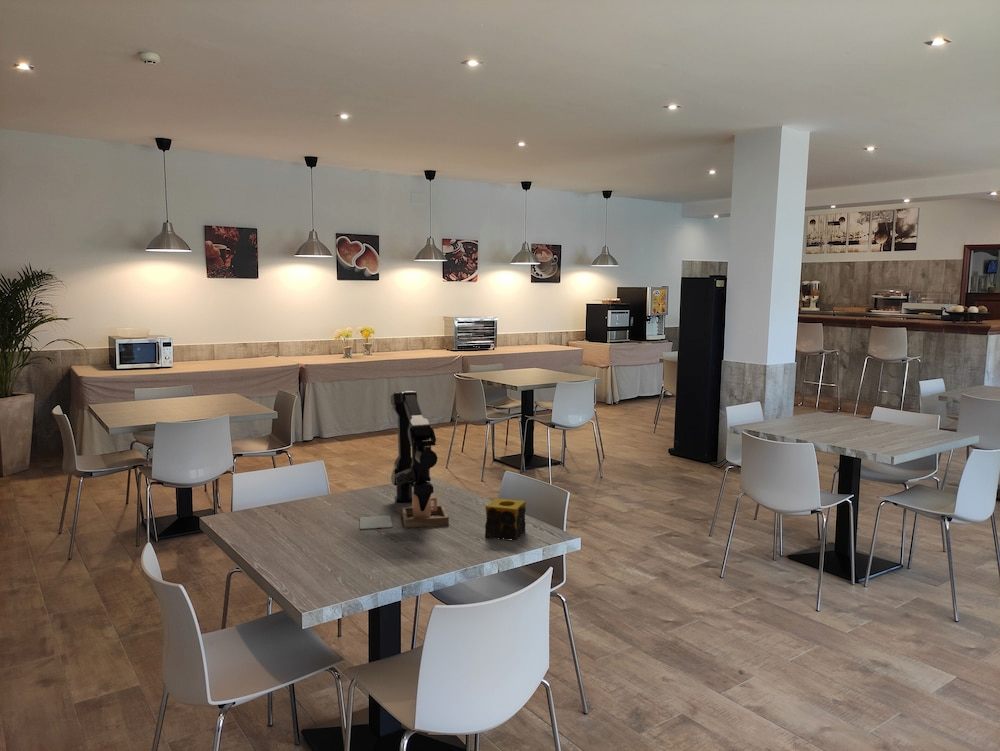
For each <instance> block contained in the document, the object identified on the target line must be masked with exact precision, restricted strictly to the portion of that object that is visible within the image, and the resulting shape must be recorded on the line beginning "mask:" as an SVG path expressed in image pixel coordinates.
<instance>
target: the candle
mask: <svg viewBox="0 0 1000 751" xmlns="http://www.w3.org/2000/svg"><path fill="white" fill-rule="evenodd" d="M526 506H527V505H526V500H520V499H519V500H518V499H506V498H494V499H493V500H492V501H491V502H490V503H488V504H487V505H486V506H485V515H486V522H485V524H484V527H485V531H484V537H485V538H486V539H487V538H488V539H493V538H499V539H498V540H502V539H503V538H504V539H512V540H516V541H517V540H518V539H519V538H521V537H522V535H523V534H524V533H525V532H526V524H527V523H526V510H527V509H526ZM521 534H522V535H521ZM518 537H519V538H518ZM517 538H518V539H517Z"/></svg>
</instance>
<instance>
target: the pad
mask: <svg viewBox="0 0 1000 751" xmlns="http://www.w3.org/2000/svg"><path fill="white" fill-rule="evenodd" d="M377 528H382V529H392V528H393V524H392V518H391V515H374V516H364V517H363V516H362V517H359V530H360V529H361V530H360V531H363V529H367V530H378V529H377Z"/></svg>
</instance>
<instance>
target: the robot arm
mask: <svg viewBox="0 0 1000 751" xmlns="http://www.w3.org/2000/svg"><path fill="white" fill-rule="evenodd" d="M417 394H418V393H417V391H416V390H403V391H394V392H393V393H392V394H391V395H390V404H391V405H392V410H393V411H394V412H395V415H396V417H397V445H398V449H397V450H398V454H397V455H398V457H397V458H396V459H395V461H394V465H393V469H392V471H391V477H390V479H391V484H392V485H393V486H395V488H396V495H395V497H394V500H395V503H406V502H407V503H408V502H410V503H411V502H412V492H413V493H414V494H415V495H417V496H418V500H419V504H420V509H421V511H424V510H425V508H426V505H427V503H428V500H429V498H430V496H432V494H434V485H433V483H431V482H432V481H431V475H430V474H431V472H430V471H431V468H433V467H434V466H436V465H437V463H438V456H437V454H436V451H434V450H432V447H433V446H436V444H437V443H436V442H437V437H436V433H435V431H434V429H433V426H432V425H431V424H430V421H429V420H428V419H427V418H426V417H424V416H423V413H422V411H421V407H420V404H419V402H418V395H417Z"/></svg>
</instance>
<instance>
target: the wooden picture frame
mask: <svg viewBox="0 0 1000 751" xmlns="http://www.w3.org/2000/svg"><path fill="white" fill-rule="evenodd" d="M431 508H434V505H431ZM438 513H439V514H441V516H435V517H433V516H432V517H431V518H417V519H413V518H408V516H413V510H412V506H409V507H408V506H407V507H401V515H402V516H401V517H402V521H403V526H404V528H405V529H407V528H406V527H411V528H419V527H420V528H421V527H422V528H423V526H426V527H437V526H440V525H441V526H449V525H450V524H449V523H450V520H449V515H448V512H447V511H446V508H445V506H444V505H443V504H440V505H438V504H437V511H431V515H435V514H436V515H437V514H438ZM439 514H438V515H439Z"/></svg>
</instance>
